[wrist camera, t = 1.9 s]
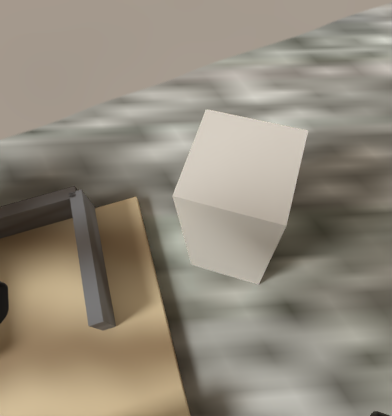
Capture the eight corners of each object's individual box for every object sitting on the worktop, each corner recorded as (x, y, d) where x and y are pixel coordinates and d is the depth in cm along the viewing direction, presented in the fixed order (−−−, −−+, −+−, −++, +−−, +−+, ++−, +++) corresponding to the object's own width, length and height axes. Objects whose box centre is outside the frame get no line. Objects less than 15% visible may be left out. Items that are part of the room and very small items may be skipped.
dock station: (213, 508, 17) (211, 545, 14) (-47, 599, 16) (-121, 664, 13) (136, 195, 25) (123, 166, 21) (-43, 245, 24) (-88, 225, 21)
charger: (258, 284, 22) (286, 225, 13) (191, 264, 23) (172, 195, 14) (274, 219, 24) (308, 127, 15) (211, 203, 24) (206, 106, 15)
